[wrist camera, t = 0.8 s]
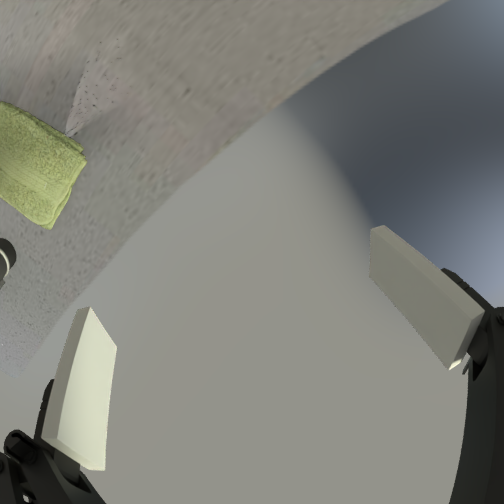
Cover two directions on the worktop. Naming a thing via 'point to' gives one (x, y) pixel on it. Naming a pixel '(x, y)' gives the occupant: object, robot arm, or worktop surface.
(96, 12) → the worktop surface
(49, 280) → the worktop surface
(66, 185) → the washcloth
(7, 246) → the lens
